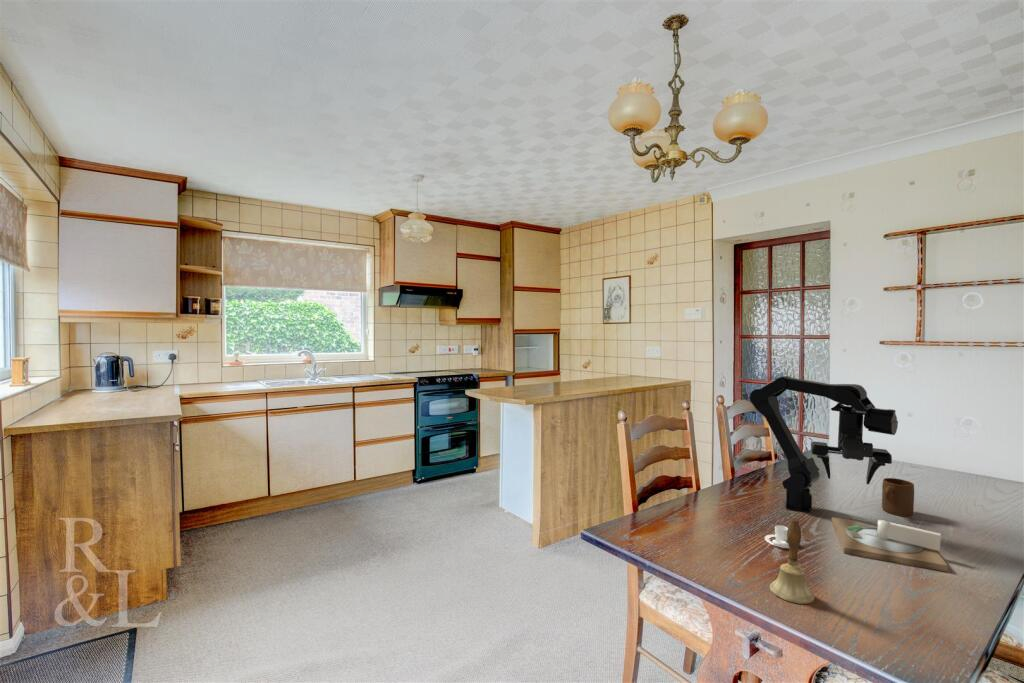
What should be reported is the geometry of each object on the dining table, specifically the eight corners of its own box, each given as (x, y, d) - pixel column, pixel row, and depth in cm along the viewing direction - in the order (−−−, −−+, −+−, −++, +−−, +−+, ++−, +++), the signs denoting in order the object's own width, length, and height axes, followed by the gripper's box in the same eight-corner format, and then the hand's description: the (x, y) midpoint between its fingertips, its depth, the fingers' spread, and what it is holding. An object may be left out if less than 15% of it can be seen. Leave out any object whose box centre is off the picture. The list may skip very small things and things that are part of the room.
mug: (901, 522, 139) (902, 490, 139) (871, 513, 146) (872, 482, 145) (917, 513, 146) (918, 483, 145) (887, 505, 152) (888, 476, 152)
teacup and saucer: (784, 553, 121) (785, 537, 121) (756, 540, 128) (756, 525, 128) (805, 546, 125) (806, 530, 125) (776, 534, 132) (777, 519, 132)
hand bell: (798, 582, 107) (800, 511, 106) (823, 604, 98) (825, 527, 98) (761, 582, 106) (763, 512, 106) (784, 604, 98) (786, 528, 98)
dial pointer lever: (850, 531, 129) (850, 515, 129) (851, 528, 131) (852, 512, 131) (939, 553, 117) (940, 536, 116) (940, 549, 118) (940, 532, 118)
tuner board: (843, 553, 120) (844, 545, 120) (831, 522, 139) (831, 515, 139) (947, 571, 111) (947, 563, 111) (919, 536, 130) (919, 529, 130)
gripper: (814, 429, 136) (812, 484, 137) (897, 438, 127) (894, 496, 128) (811, 422, 146) (809, 473, 146) (888, 429, 137) (885, 483, 138)
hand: (848, 481), depth 139 cm, fingers open, 9 cm apart
